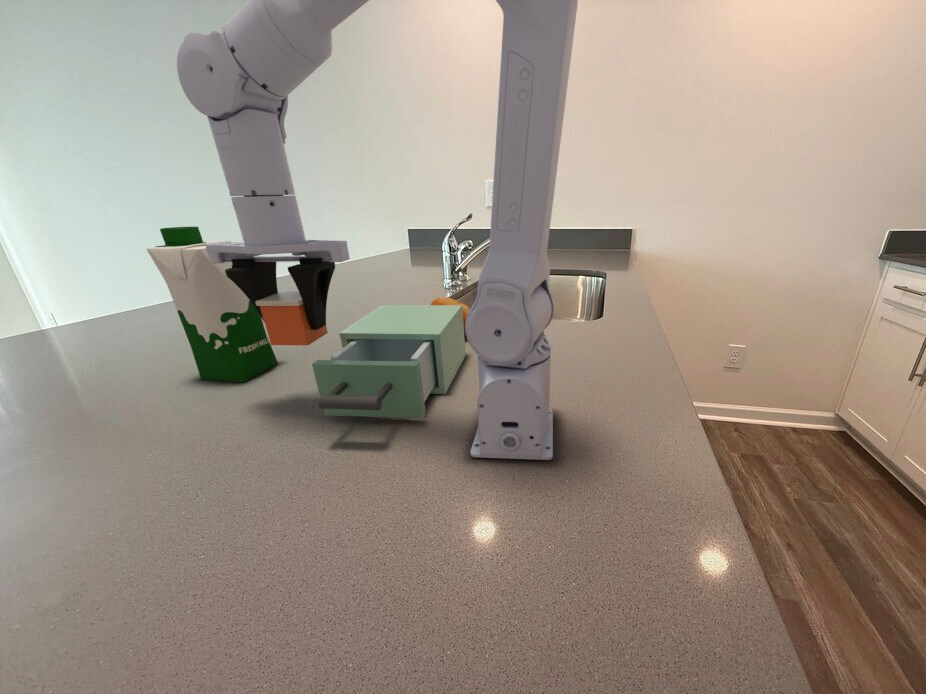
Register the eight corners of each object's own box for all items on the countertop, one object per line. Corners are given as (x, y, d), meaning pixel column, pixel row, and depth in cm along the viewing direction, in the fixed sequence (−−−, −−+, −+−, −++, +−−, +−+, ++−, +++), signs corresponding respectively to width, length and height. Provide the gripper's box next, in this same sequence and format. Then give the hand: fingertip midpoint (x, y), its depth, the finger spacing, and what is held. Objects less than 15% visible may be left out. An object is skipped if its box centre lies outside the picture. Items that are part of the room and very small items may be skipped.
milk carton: (239, 358, 65) (194, 225, 56) (288, 362, 63) (250, 224, 55) (189, 381, 57) (129, 230, 49) (244, 386, 56) (192, 230, 47)
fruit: (413, 327, 74) (431, 286, 72) (451, 342, 78) (469, 304, 76) (424, 340, 67) (444, 296, 65) (465, 356, 71) (485, 315, 70)
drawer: (409, 441, 41) (400, 385, 38) (301, 438, 42) (285, 382, 39) (448, 372, 56) (444, 328, 53) (369, 371, 57) (361, 328, 54)
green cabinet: (445, 394, 52) (439, 333, 49) (351, 391, 53) (339, 332, 50) (465, 355, 64) (462, 305, 61) (388, 354, 66) (381, 304, 62)
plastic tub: (309, 346, 45) (297, 301, 43) (268, 345, 45) (254, 301, 43) (330, 332, 49) (321, 291, 47) (292, 332, 49) (281, 291, 47)
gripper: (351, 194, 44) (372, 317, 49) (225, 197, 45) (261, 317, 51) (317, 194, 37) (346, 336, 43) (171, 198, 39) (219, 335, 44)
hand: (297, 327), depth 46 cm, fingers closed on plastic tub, 4 cm apart
